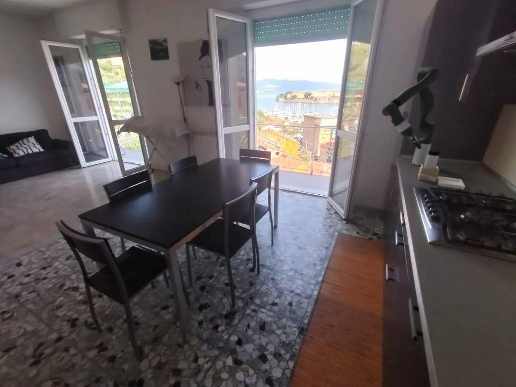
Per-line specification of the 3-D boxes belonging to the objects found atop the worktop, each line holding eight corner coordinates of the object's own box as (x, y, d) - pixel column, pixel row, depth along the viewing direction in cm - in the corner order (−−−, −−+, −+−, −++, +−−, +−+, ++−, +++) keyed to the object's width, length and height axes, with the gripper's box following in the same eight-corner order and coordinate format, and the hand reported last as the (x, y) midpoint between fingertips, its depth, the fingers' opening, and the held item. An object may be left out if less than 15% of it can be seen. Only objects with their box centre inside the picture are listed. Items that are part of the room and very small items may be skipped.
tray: (436, 179, 158) (437, 176, 157) (459, 182, 152) (461, 179, 151) (438, 186, 147) (439, 182, 146) (463, 190, 141) (465, 186, 140)
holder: (417, 174, 167) (421, 164, 163) (434, 177, 162) (437, 166, 159) (418, 179, 158) (421, 168, 155) (435, 182, 154) (439, 170, 151)
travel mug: (431, 180, 156) (441, 151, 148) (420, 178, 160) (429, 150, 151) (432, 177, 161) (441, 149, 152) (421, 176, 164) (429, 148, 156)
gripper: (410, 126, 148) (426, 145, 148) (410, 123, 159) (425, 141, 159) (399, 133, 153) (414, 153, 152) (399, 130, 164) (414, 148, 163)
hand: (420, 147), depth 156 cm, fingers open, 8 cm apart
